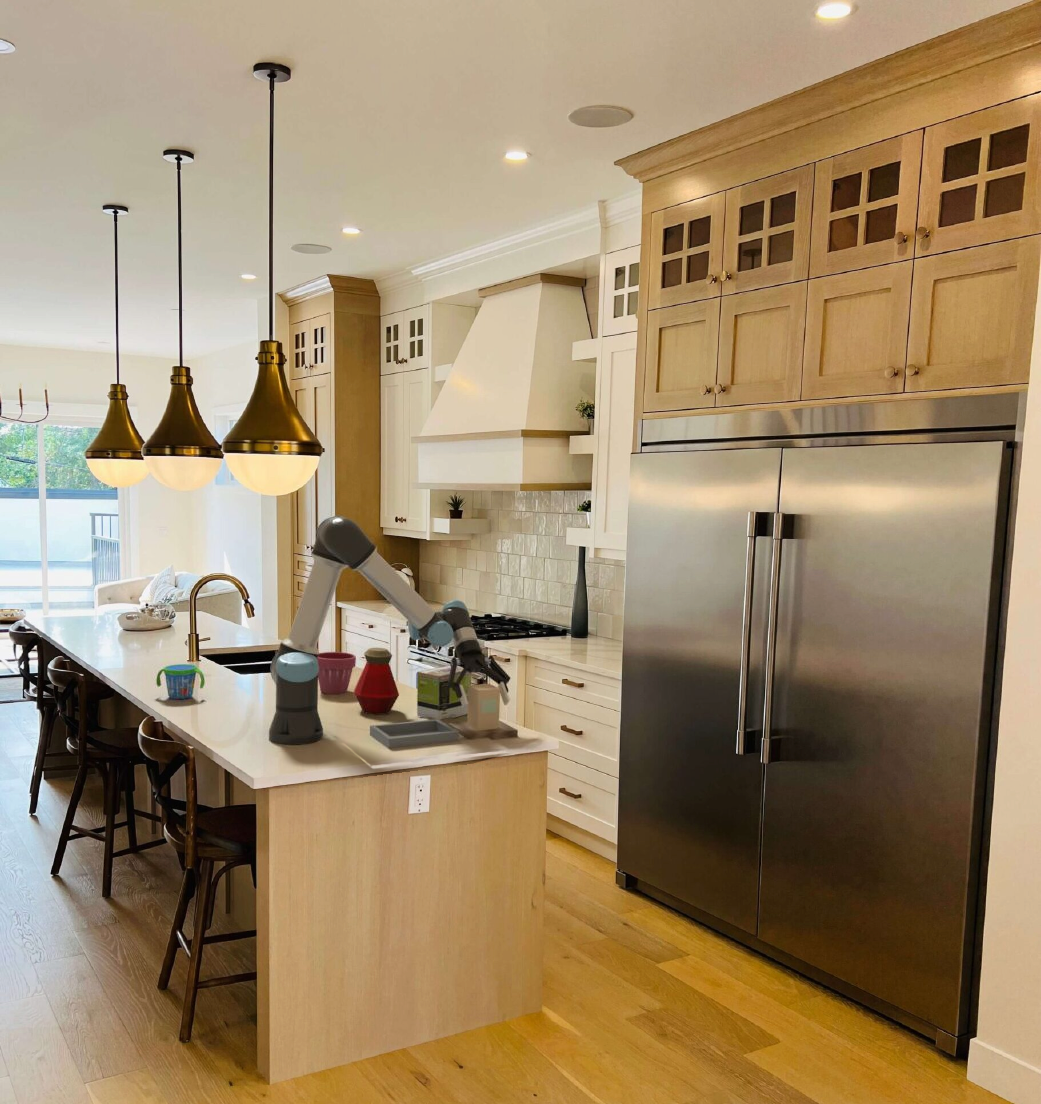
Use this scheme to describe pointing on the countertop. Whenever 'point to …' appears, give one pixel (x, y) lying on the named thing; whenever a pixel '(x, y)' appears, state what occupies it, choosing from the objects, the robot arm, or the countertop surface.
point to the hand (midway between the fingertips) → (486, 704)
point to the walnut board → (485, 731)
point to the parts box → (483, 707)
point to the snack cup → (180, 680)
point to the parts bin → (413, 733)
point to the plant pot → (335, 671)
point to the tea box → (440, 693)
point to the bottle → (376, 683)
